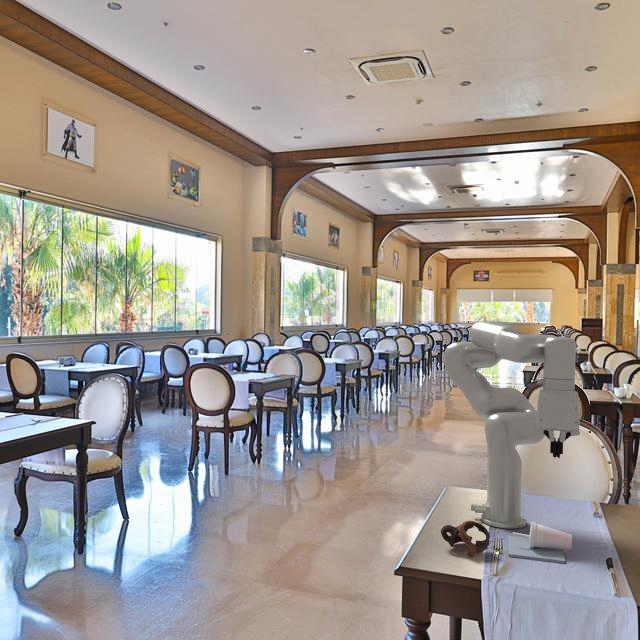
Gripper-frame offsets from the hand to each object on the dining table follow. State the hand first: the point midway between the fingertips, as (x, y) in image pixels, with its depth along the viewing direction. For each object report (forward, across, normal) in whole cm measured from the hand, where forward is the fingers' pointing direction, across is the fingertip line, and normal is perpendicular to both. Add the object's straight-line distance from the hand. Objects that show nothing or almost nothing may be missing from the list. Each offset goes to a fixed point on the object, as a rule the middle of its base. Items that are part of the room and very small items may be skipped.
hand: (556, 456), depth 156 cm
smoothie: (+20, +4, -3) cm, 21 cm away
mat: (+24, -4, -3) cm, 24 cm away
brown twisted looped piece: (+24, -21, -10) cm, 34 cm away
